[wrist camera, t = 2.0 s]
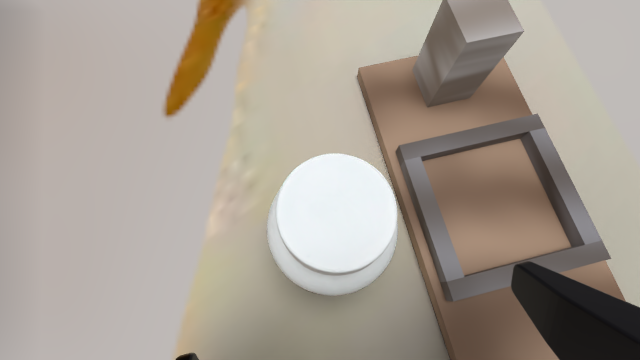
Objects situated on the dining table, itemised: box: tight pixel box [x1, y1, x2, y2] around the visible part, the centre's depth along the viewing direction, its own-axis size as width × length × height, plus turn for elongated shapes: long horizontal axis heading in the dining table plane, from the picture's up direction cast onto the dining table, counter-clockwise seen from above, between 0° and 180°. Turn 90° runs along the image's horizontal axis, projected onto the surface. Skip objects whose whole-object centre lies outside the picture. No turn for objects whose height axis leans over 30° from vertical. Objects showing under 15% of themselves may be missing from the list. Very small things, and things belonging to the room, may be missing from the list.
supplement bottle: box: [267, 153, 398, 296], centre depth 15 cm, size 5×5×10 cm
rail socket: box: [357, 0, 626, 360], centre depth 17 cm, size 22×10×7 cm, turn 14°
